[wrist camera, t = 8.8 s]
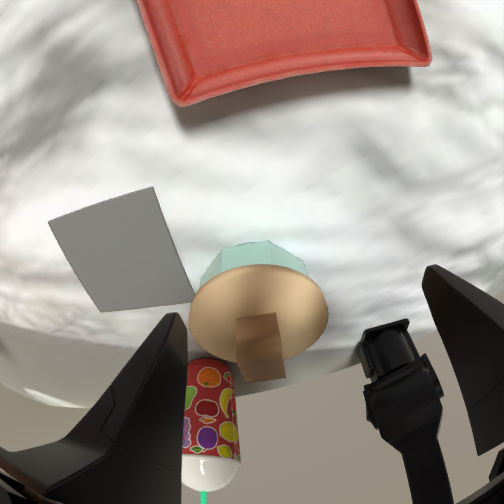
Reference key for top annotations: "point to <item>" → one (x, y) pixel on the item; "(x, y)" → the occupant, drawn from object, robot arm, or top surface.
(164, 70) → the plant saucer
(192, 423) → the smoothie
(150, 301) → the mat
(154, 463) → the robot arm
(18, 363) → the top surface
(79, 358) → the top surface
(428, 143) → the top surface
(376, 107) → the top surface
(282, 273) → the lid
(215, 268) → the bowl
